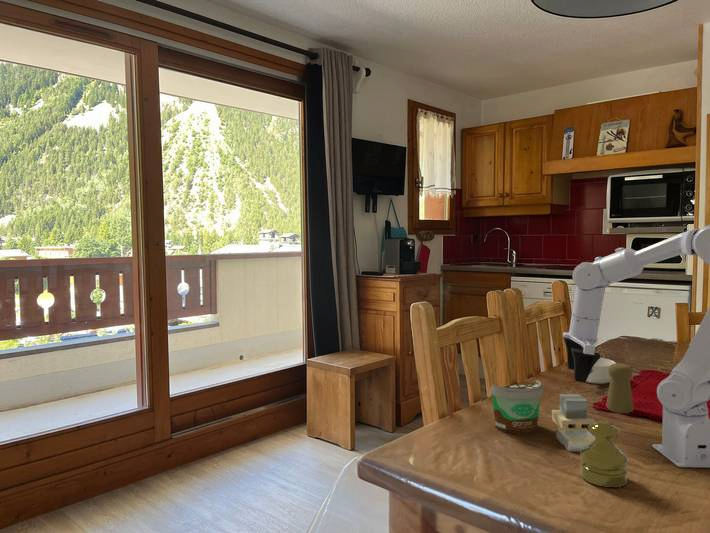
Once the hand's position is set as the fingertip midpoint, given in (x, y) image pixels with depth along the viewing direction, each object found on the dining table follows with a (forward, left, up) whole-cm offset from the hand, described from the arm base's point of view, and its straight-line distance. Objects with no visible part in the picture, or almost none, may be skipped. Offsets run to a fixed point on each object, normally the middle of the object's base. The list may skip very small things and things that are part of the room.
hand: (576, 374), depth 115 cm
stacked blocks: (-1, +1, -11) cm, 11 cm away
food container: (-5, +13, -11) cm, 18 cm away
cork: (+10, -14, -11) cm, 20 cm away
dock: (-12, +4, -11) cm, 17 cm away
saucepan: (+33, -16, -11) cm, 38 cm away
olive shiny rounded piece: (-27, +5, -11) cm, 30 cm away
